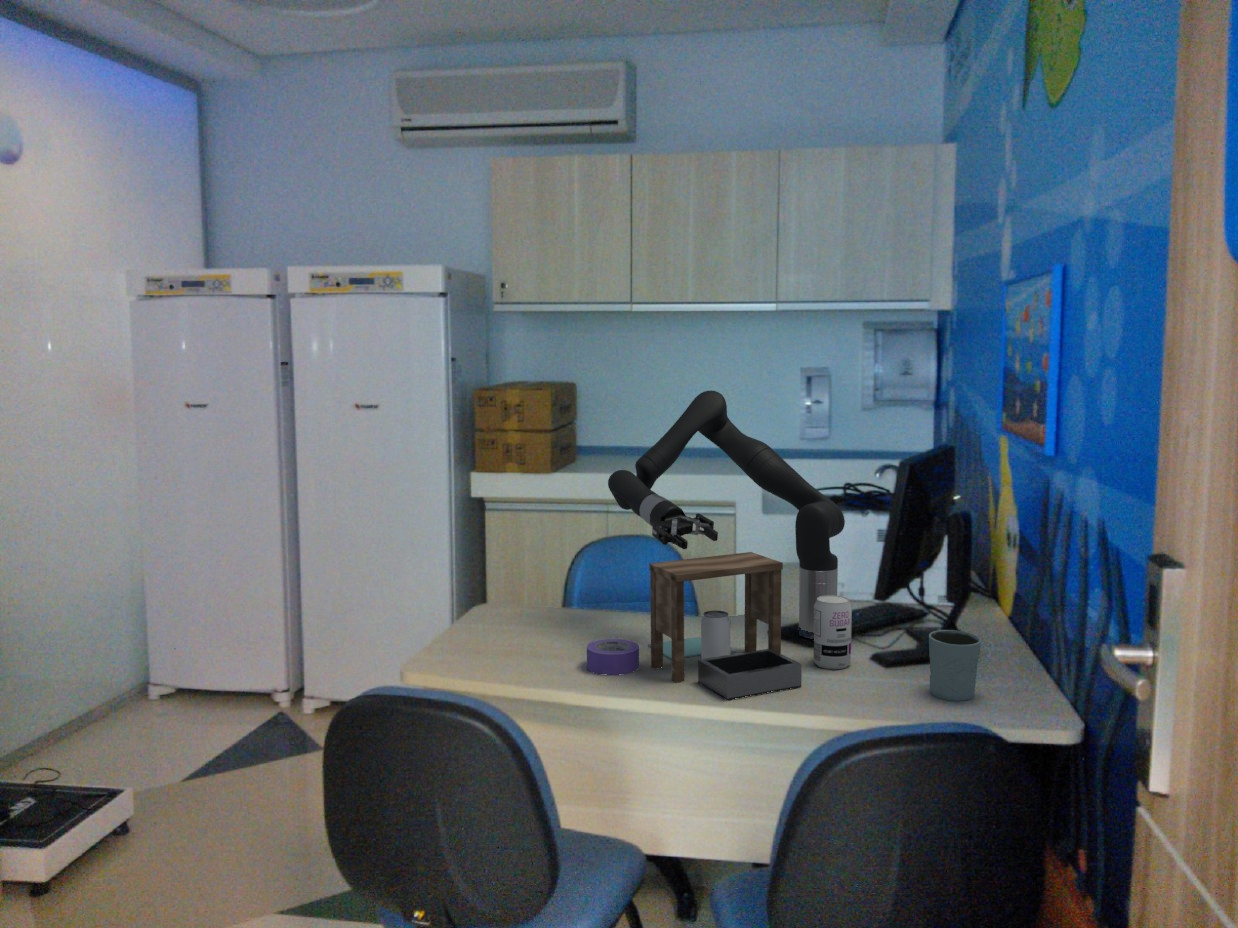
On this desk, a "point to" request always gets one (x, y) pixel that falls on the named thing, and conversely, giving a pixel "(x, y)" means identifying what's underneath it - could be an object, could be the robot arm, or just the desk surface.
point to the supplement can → (832, 632)
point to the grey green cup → (953, 664)
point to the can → (715, 634)
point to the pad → (690, 647)
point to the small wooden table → (672, 574)
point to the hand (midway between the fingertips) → (701, 541)
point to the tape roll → (612, 656)
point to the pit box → (749, 673)
